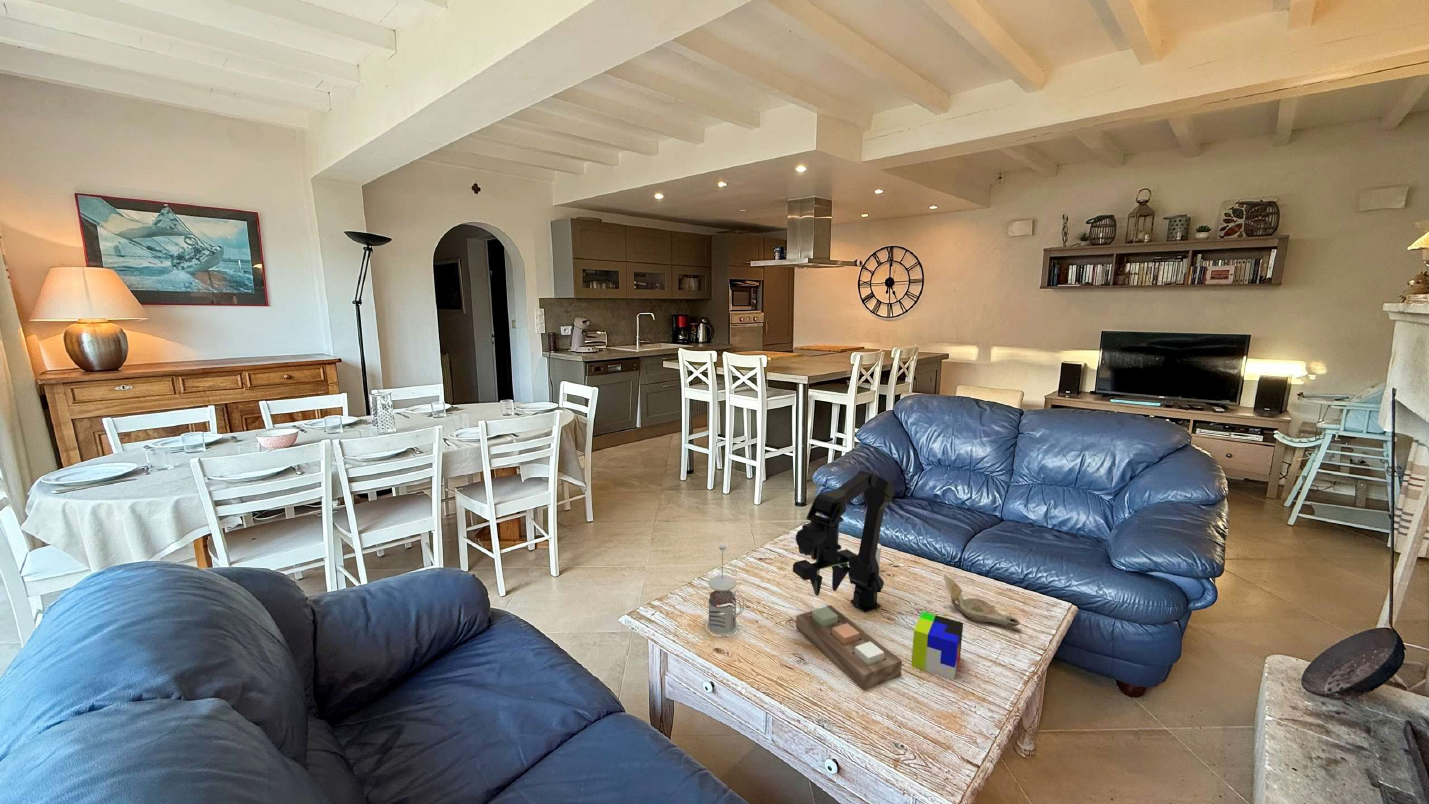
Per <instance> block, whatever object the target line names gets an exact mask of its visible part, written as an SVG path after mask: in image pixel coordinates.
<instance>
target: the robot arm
mask: <svg viewBox="0 0 1429 804" xmlns="http://www.w3.org/2000/svg"><path fill="white" fill-rule="evenodd" d="M895 491H896V488H895V485H893V482H892V481H891V480H887V479H884V478H882V477H881V476H879V475H878V474H876V473H875V472H873V471H868V470H864V469H861V470H858V472H857V474H856V475H854V476H853V477H851V478H850V479H848V480H847V481H845V482H844V483H843V484H841V485H839V487H837V488H836V489H828V490H824V491H822V492H820V493H817V495H816V496H815V498H814V500H813V502H812V504H811V507H810V508H809V511H808V513H807V516H806V520H807V521H810V522H809V523H804V524H802V526H801V527H802V528H801V529H799V530H797V533H796V534H795V542H796V545H797V547H798V551H799V552H798V553H799V554H801V555H804V556H806V557H807V556H810V557H811V559H812V560H813V561H814V560H815V562H812V563H811V562H810V561H808V560H807V559H802V560H798V561H795V562H793V564H792V572H793V573H794V574H795V575H797V576H798V577H799V578H801V579H802V580H804V581H810V583H811V587H812V589H813V592H814V594H815V596H817V597H819V595H820V592H821V588H822V583H823V578H824V577H823V576H822V575H821V574H820V570H824V569H829V568H831V570H832V571H831V572H832V573H831V574H832V576H831V577H832V579H831V581H832V582H831V586H832V587H831V588H832V591H833V592H836V591H837V590H838V588H839V586H840V585H841V583H842V582H843V580H845V578H846V576H847V575H848V577H849V583H850V584H851V585H854V590H853V599H851V600H850V603H851V604H853V605H854V606H855V607H856V608H858V609H859V610H860V611H862V612H864V613H865V612H866V613H867V612H869V611H872V610H875V609H878V608H881V604H879V603H878V593H881V592H882V590H883V588H884V584H885V581H884V579H882V577H881V576H880V575H879V572H880V564H879V565H878V563H877V560H876V551H877V545H878V543H879V538H880V533H881V528H882V523H883V518H884V512H885V510H886V508H887V507H888V506H889V505H890V504H891V503H892V501H893V496H894V495H895ZM861 494H863V498H864V501H865V505H866V511H865V516H864V522H863V528H862V532H861V539H860V543H859V549H858V553H857V554H856V553H854V552H852V551H851V550H849V549H847V548H845V549H842V545H841V544H839V534H840V523H842V522H843V521H844V518H843V517H842V516H843V515H844V514H845V512H846V511H847V507H848V505H849V504H850V502H852V501H853V500H855V499H856V498H858V497H859V496H860V495H861ZM817 514H818V515H817ZM823 516H825V517H823Z"/></svg>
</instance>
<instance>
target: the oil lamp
mask: <svg viewBox="0 0 1429 804" xmlns="http://www.w3.org/2000/svg"><path fill="white" fill-rule="evenodd" d="M943 580H944V583H945V587H946V589H947V590H948V592H949V595H950V600H951V604H952V605H953V606H954V607H955V608H956V609H957V610H960V611H961V613H963V615H964V616H966V617H967V618H968V619H969V620H971V621H974V622H978V623H979V622H983V623H986V622H987V623H994V624H999V625H1003V626H1006V627H1012V628H1014V627H1017V626H1019V625H1020V624H1021V623H1020V621H1019V619H1018V618H1015V617H1013V616H1011V615H1007V614H1002V613H1001V612H1000V611H998V610H997V609H996V607H995V605H992V604H991V603H989V602H987V601H985V600H983V599H979V598H974V597H973V598H972V597H970V598H969V597H968V598H964V597H963V595H962V592H963V589H962V588H961V587H960V585H958V584H957V583H956V581H954V580H953V579H951V578H950V577H948V576H947V575H946V574H943ZM956 602H957V603H956Z"/></svg>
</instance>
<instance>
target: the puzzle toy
mask: <svg viewBox="0 0 1429 804" xmlns="http://www.w3.org/2000/svg"><path fill="white" fill-rule="evenodd" d="M963 628H964V622H962V621H958V620H954V619H951V618H947V617H944V616H940V615H937V614H933V613H930V612H926V611H922V612H921V613H920V616H919V618H918V620H917V622H916V625H915V627H914V630H913V640H912V652H911V654H912V655H911V666H912V667H914V668H918V669H919V670H924V671H925V672H926V671H927V672H929V673H932V674H936V675H938V676H941V677H945V678H947V679H950V680H952V681H953V680H955V677H956V672H957V670H958V666H959V662H960V660H961V655H962V654H961V652H962V650H961V649H962V643H963V641H962V640H963Z"/></svg>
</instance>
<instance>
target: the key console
mask: <svg viewBox="0 0 1429 804" xmlns="http://www.w3.org/2000/svg"><path fill="white" fill-rule="evenodd" d="M824 607H825V606H824ZM824 607H821V608H824ZM826 607H828V608H829V609H830V610H831V611H833V612H834V613H835V614H836V615H838V623H836V624H832V625H829V626H826V627H823V628H822V627H821V626H820V625H819V624H818V623H817V622H815V621H814V620H813V619H812V611H814V610H815V609H814V610H810V611H807V612H803V613H801V614H797V615H796V620H795V621H796V622H795V629H796V630H797V631H798V632H800V634H801V635H802V636H804V637H805V638H806V639H807V640H808V641H809V642H811V644H812V645H813V646H814V647H816V649H818V650H819V652H821V653H822V654H823V655H824V656H825V657H826V658H827V659H829V660H830V661H831V663H833V664H834V665H835V666H836V667H837V668H838V669H840V670H841V671H842V672H843V673H844V674H845V675H846V676H848V678H849V679H851V680H852V681H853V683H854V684H856V685H857V686H858V687H859V688H860V689H861V690H862V691H864V690H867V689H869V688H872V687H874V686H877V685H880V684H882V683H885V682H887V681H890V680H893V679H895V678H897V677H900V676H902V667H903V664H902V663H903V661H902V659H900V658H899V657H898V656H896V655H895V654H894V653H893V652H891V651H890V650H889V649H887V648H886V646H884V645H882V644H881V643H880V642H879V641H877V640H876V639H874V637H872V636H871V635H870V634H869V633H867V632H865V630H863V629H862V628H861V627H859V626H858V625H856V623H854V622H853V621H852V620H850V619H849V618H848V617H847V616H845V615H844V614H843V613H841V612H840V611H839V609H836V608H835V607H834V606H832V605H827V606H826ZM821 608H819V609H821ZM846 623H848V624H849V625H850V626H852V627H853V628H854V629H855V630H857V631H858V632H859V633H860V639H859V641H857V642H854V643H851V644H848V645H845V646H843V645H842V644H841V643H840V642H839V641H838V640H836V639H835V638H834V637H833V636H832V628H834V627H837V626H840V625H843V624H846ZM870 641H871V642H872V643H873V644H874V645H876V646H877V647H878V648H879V649H881V650H882V651H883V652H884V661H881V662H879V663H876V664H873V665H871V666H867V665H866V664H865V663H863V662H862V661H861V660H860V659H859V658H857V657H856V656H855V655H854V654H855V646H858V645H861V644H864V643H867V642H870Z"/></svg>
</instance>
